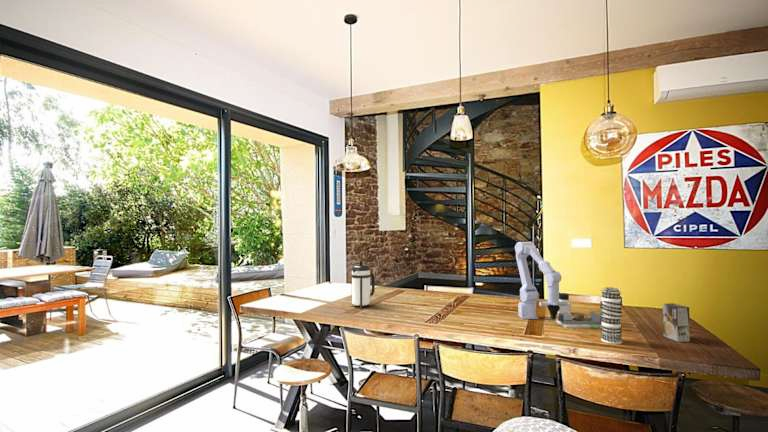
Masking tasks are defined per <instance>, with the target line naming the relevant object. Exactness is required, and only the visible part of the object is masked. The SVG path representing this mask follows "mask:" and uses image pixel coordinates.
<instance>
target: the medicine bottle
mask: <svg viewBox="0 0 768 432" xmlns="http://www.w3.org/2000/svg"><path fill="white" fill-rule="evenodd" d="M569 300H570V299H569V293H565V292H559V302H567V303H568V306H559V307H560V309H559V311H558V313H557V315H559V314H560V313H570V314H572V303H571V302H570V301H569Z"/></svg>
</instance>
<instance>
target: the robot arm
mask: <svg viewBox="0 0 768 432" xmlns="http://www.w3.org/2000/svg"><path fill="white" fill-rule="evenodd" d="M536 248H537V247H536V245H535V244H534V242H533V241H518V242H516V244H515V246H514V251H515V260H516V264H517V268H518V272H519V276H520V281H521V282H520V283H521V287H520V289H519V298H520V302H518V306H517V307H518V308H517V310H518V314H517V316H518V317H519V318H521V319H523V320H524V319H527V320H531V319H532V320H539V319H540V318H539V317H538V316H537V302H538V300H539V298H540V293H539V291H538V290H537V287H536V286H535V285H533V282H532V278H531V274H530V269H529V265H528V261H527V257H528V256H531V258H532V259H533V260H534V261H535V262H536V263H537V264H538V266H537V267H538V269H539V270H540V271H541V272H542V274H543V275H544V279H545V281H546V285H547V301H539V303H538V304H539V307H547V309H548V312H549V315H550V317H551V318H550V319H551V320H553V321H554V320H555V321H556V318H557V315H558V311H559V309H560V307H559V306H568V303H567V302H559V293H560V282H561V281H562V274H561V273H560V272H559V271H556V270H555V269H554V268H553V267H552V266H551V264H550V262H549V261H547V260H544V259H543V257H542V255H541V254H540V253H539V251H538V250H537V249H536Z"/></svg>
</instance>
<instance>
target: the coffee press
mask: <svg viewBox="0 0 768 432" xmlns="http://www.w3.org/2000/svg"><path fill="white" fill-rule="evenodd" d="M363 263H364V262H363V260H359V262H358V264H354V265H352V266H351V269H350V270H351V302H350V304H352V306H359V308H360V310H361V309H363V306H367V305H369V306H370V307H373V302H371V300H372V299H371V297H372V296H373V295H374V294H375V286H376V285H375V281H376V280H375V275H374V273H372V272H371V269H372V268H371V267H370V265H369V264H365V263H364V264H363ZM370 303H371V304H370Z"/></svg>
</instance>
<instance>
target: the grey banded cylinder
mask: <svg viewBox="0 0 768 432" xmlns="http://www.w3.org/2000/svg"><path fill="white" fill-rule="evenodd" d="M621 293H622V292H621V291H620V290H619V289H618V288H616V287H610V286H607V287H603V289H602V290H601V301H600V302H599V304H600V305H599V307H601V308H602V309H601V311H600V315H601V316H602V325H601V327H602V328H600V340H601V342H603V343H607V344H612V345H620V344H622V340H623V339H622V337H623V335H622V333H623V332H622V330H623V328H622V324H621V319H622V317H623V316H622V315H621V314H622V313H623V311H622V310H623V308H622V306H623V300H621V299H622V298H621Z"/></svg>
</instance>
